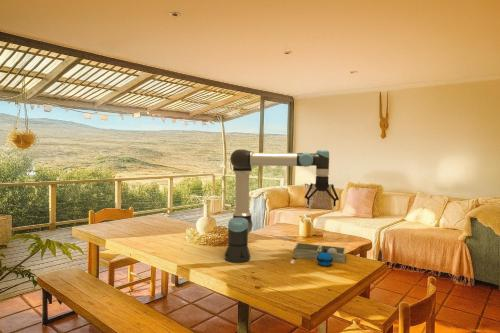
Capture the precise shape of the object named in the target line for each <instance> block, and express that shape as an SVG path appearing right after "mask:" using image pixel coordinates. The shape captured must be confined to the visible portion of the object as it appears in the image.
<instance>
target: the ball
mask: <svg viewBox="0 0 500 333" xmlns="http://www.w3.org/2000/svg"><path fill="white" fill-rule="evenodd" d="M327 252H330V253H337V250H336V249H335V248H330V249H328V251H327Z"/></svg>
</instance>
